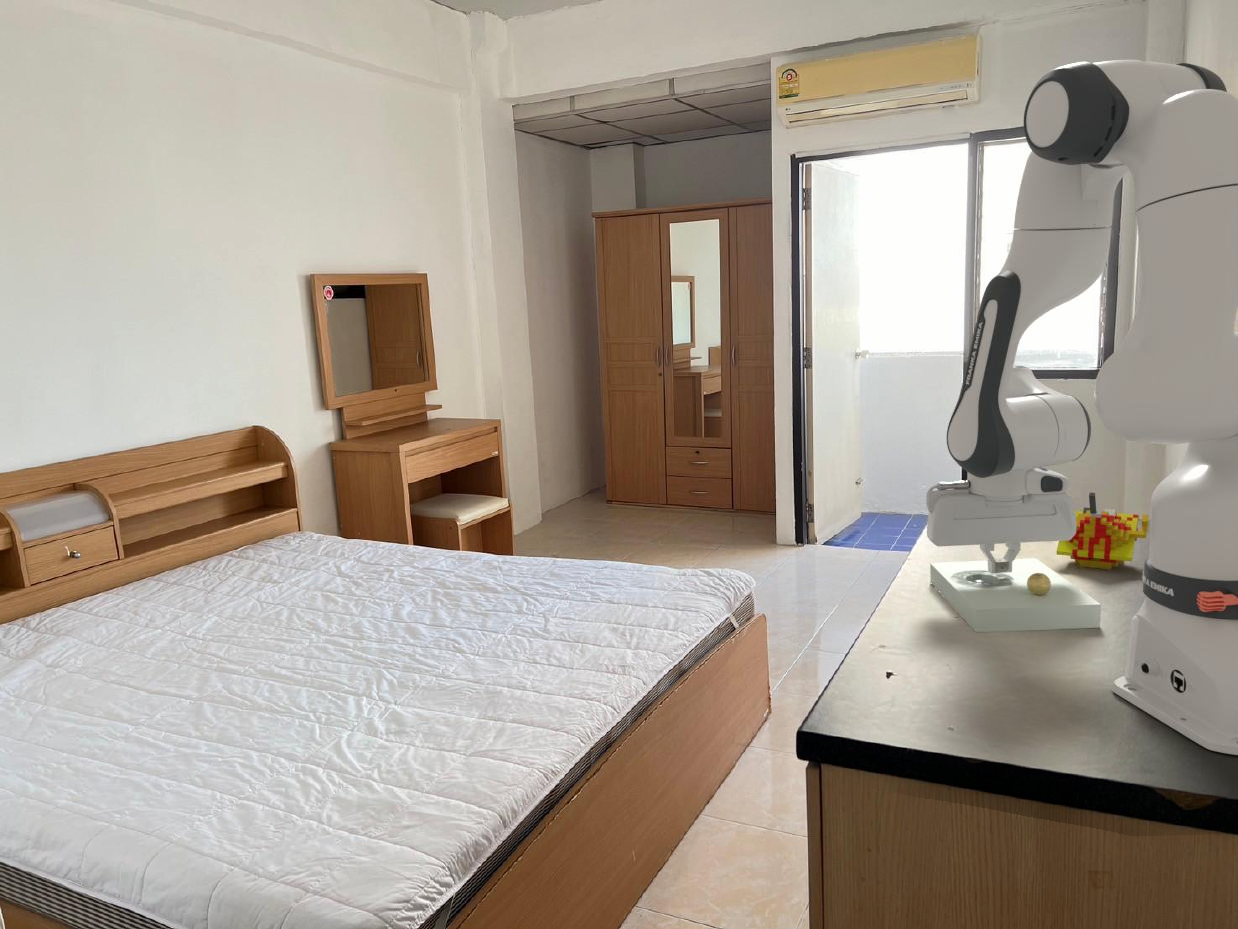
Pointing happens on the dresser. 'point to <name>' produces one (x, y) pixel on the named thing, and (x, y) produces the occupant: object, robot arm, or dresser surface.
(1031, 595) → the board
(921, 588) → the dresser surface
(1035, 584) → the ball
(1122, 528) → the toy
